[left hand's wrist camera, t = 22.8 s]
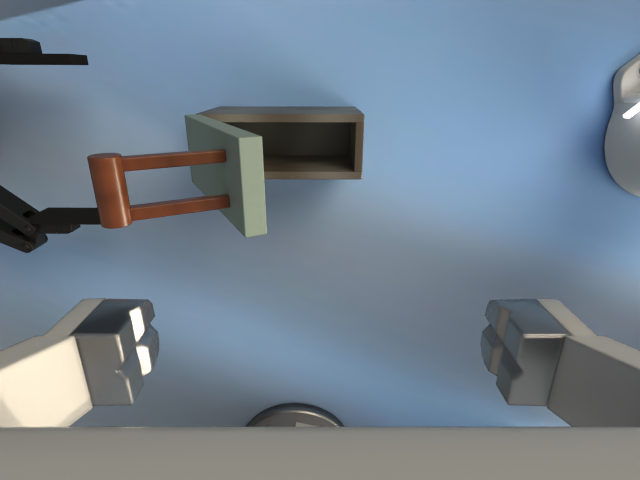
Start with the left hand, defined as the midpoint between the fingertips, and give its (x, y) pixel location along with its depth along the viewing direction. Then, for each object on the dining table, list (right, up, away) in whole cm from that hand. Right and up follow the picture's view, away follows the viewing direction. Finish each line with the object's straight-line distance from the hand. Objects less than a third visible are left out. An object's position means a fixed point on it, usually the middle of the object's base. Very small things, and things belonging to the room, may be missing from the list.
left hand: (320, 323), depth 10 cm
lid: (-6, +7, +18) cm, 21 cm away
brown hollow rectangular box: (-3, +13, +33) cm, 35 cm away
